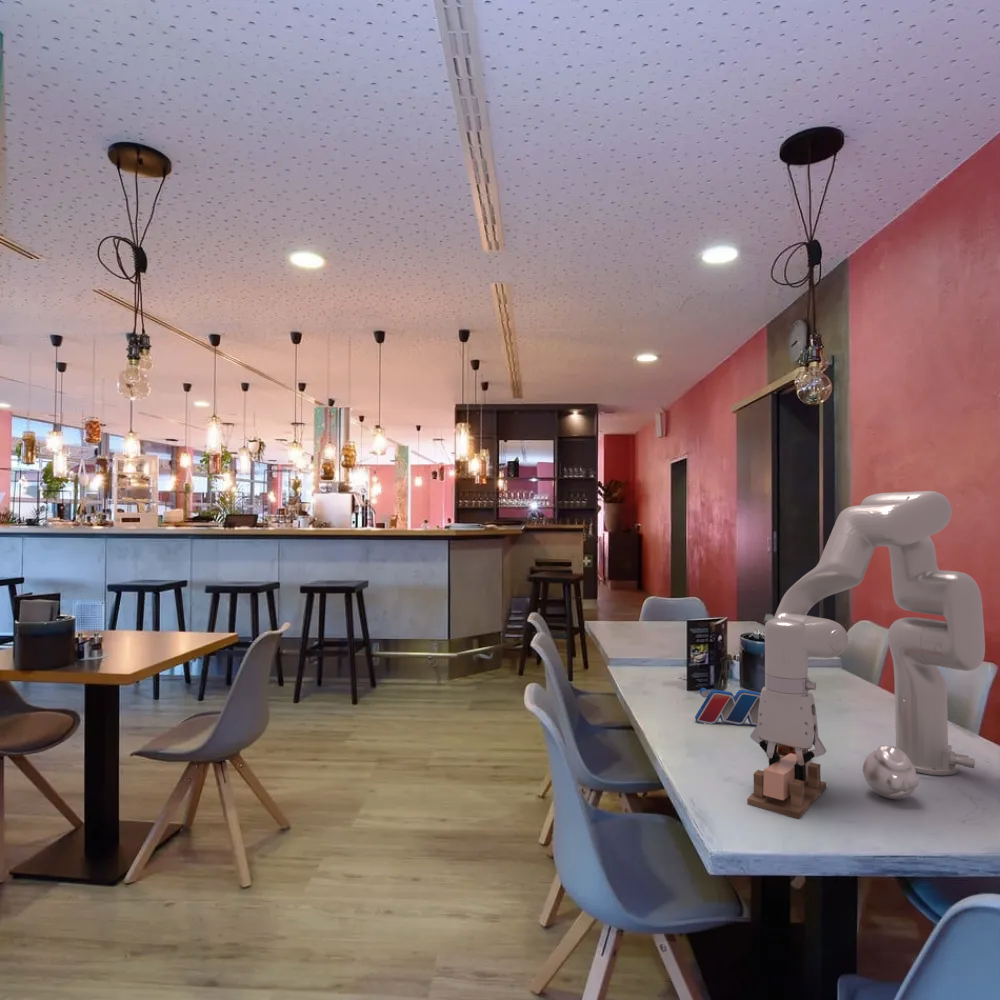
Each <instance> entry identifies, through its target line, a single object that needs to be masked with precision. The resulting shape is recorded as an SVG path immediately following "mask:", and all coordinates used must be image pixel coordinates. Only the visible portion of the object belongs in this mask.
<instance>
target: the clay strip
mask: <svg viewBox="0 0 1000 1000" xmlns="http://www.w3.org/2000/svg"><path fill="white" fill-rule="evenodd" d="M796 761H797V757H796V754H792V753H790V754H788V755H786V756H785V757H783V758H782V759H780V760H779V761H777V762H775V763H773V764H772V765H770V766H769V765H768V766H767V767H765V768H763V771H764V780H763V795H765V796H769V797H772V798H776V799H780V800H785V799H786V798H787V797H789V796H790V795H791V782H792V781H793V780H794V779H795V767H794V765H795V764H796ZM809 764H810V760H809V761H808V762H807V763H806V780H805V782H804V784H805V783H806V782H808V765H809Z"/></svg>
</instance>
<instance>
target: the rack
mask: <svg viewBox="0 0 1000 1000" xmlns="http://www.w3.org/2000/svg"><path fill="white" fill-rule="evenodd" d="M779 757H780V759H782V758H783V757H785V756H782V755H779ZM763 780H764V770H761V769H756V771H754V772H753V792H752V794H750V796H748V797H747V799H746V802H747V805H750V806H753V805H754V806H753V807H756V806H757V808H761V809H763V810H767V811H769V812H770V811H771V812H773V813H777V814H780V815H785V816H788V817H791V818H794V817H795V819H798V820H800V818H801V817H803V815H804V814H805V813H806V812H807V811H808V809H809V808H810V807H811V806H812V805H813V803H814V802H815V801H816V800H817V799H818V797H820V795H821V794H822V793H823V792H824V791H825V789H826V788H827V782H826V781H822V780H821V764H819V763H816V762H812V761H811V762H809V765H808V782H806V783H805V784H804V781H801V780H797V779H794V780H793V781H792V782H791V795H790V796H789V797H787V798H786V799H785V800H780V799H776V798H772V797H769V796H765V795H763ZM825 787H826V788H825ZM824 788H825V789H824ZM822 791H823V792H822ZM821 792H822V793H821ZM820 793H821V794H820ZM819 794H820V795H819ZM816 798H817V799H816ZM815 799H816V800H815ZM814 800H815V801H814ZM810 805H811V806H810ZM804 812H805V813H804Z"/></svg>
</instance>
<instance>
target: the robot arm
mask: <svg viewBox="0 0 1000 1000" xmlns="http://www.w3.org/2000/svg"><path fill="white" fill-rule="evenodd" d="M952 510H953V509H952V505H951V503H950V501H949V499H948V498H947V497H946V496H945V495H944V494H942V492H941V493H940V492H938V491H934V490H921V491H919V490H917V491H895V492H881V493H874V494H871V495H869V496H866V497H865V498H863V500H862V501H861V503H860V505H853V506H849V507H846V508H845V509H843V510H841V511H840V513H839V514H838V516H837V518H836V520H835V523H834V525H833V528H832V530H831V533H830V534H829V537H828V540H827V541H826V544H825V547H824V549H823V551H822V554H821V556H820V559H819V561H818V563H817V564H816V566H815V567H814V568H813V569H811V570H810V571H808V572H806V574H804V575H803V576H802V577H801V578H800V579H798V580H797V581H796V582H795V583H793V585H791V586H790V588H788V589H787V590H786V592H785V593H784V595H783V596H782V598H781V600H780V602H779V605H778V607H777V609H776V612H775V614H774V617H773V618H771V619H769V620H768V621H767V620H766V622H765V625H764V684H765V685H764V686H763V687H762V689H761V692H760V694H761V696H760V702H759V709H758V723H757V726H755V727H754V729H753V730H752V732H751V734H750V735H749V736H750V737H749V738H750V739H751V740H752V741H754V742H755V743H756V744H758V745H759V746H760V748H761V749H762V750H763V752H764V753H765V755H766V757H767V758H768V767H769V766H770V765H772V764H773V763H775V762H777V761H779V760H780V757H779V755H778V753H777V751H778V744H781V745H785V746H790V747H794V748H795V751H796V757H797V761H796V764H795V765H794V767H795V779H797V780H801V781H804V782H805V780H806V763H807V762H808V761H809V762H810V761H811V760H812V759H814V758H817V757H820V756H823V755H825V754H826V753H827V749H826V747H825V745H824V744H823V742H822V740H821V739H820V737H819V725H818V716H817V709H816V703H815V699H814V697H815V696H814V694H813V693H812V692H809V691H812V690H814V691H816V689H817V683H816V682H812V681H810V677H809V676H808V674H809V670H808V667H809V666H808V663H809V661H808V658H811V657H812V658H822V659H831V658H835V657H838V656H840V655H841V654H842V653H843V652H844V651H846V649H847V647H848V643H849V636H848V632H847V631H846V629H845V628H844V627H843V625H841V624H840V623H838V622H837V621H835V620H831V619H829V618H824V617H823V618H822V617H817V616H812V615H808V613H809V611H810V610H811V609H812V608H813V607H814V606H815V605H816V604H817V603H818V602H820V601H821V600H824V599H826V598H827V597H829V596H833V595H836V594H838V593H841V592H844V591H847V590H849V589H853V588H855V587H857V586H859V585H860V584H862V583H863V580H864V578H865V575H866V572H867V569H868V567H869V565H870V561H871V559H872V557H873V554H874V551H875V550H876V548H877V547H887V548H888V552H889V558H890V571H891V585H892V596H893V599H894V603H895V604H896V605H897V607H898V608H900V609H902V610H904V611H908V612H911V613H913V612H914V613H919V614H926V615H927V614H928V615H935V616H943V617H944V618H945V619H944V620H945V621H944V620H943V621H942V620H938V619H932V618H931V619H930V618H923V617H914V616H913V617H912V616H911V617H909V616H908V617H901V618H899V619H896V620H895V621H893V622H892V623H891V625H890V627H889V629H888V633H887V640H888V641H887V642H888V645H889V650H890V654H891V658H892V667H893V676H894V681H893V682H894V716H895V717H894V719H895V721H894V723H895V747H897V748H899V749H900V750H902V751H903V752H904V753H905V754H906V755H907V756H908V758H909V759H910V761H911V763H912V765H913V766H914V768H915V771H916V773H920V774H925V775H933V776H951V775H954V774H957V773H958V772H959V771H958V770H959V767H958V766H962V767H965V768H971V769H975V768H976V767H975V766H976V761H975V760H976V759H975V758H972V757H969V755H968V754H967V755H966V754H963V753H961V754H960V753H956V752H955V751H953V749H952V745H950V744H949V730H948V729H949V726H948V725H949V724H948V723H949V722H948V687H947V683H946V680H945V677H944V675H943V673H942V672H941V670H940V668H939V667H942V668H947V669H950V670H951V669H953V670H957V671H963V672H964V671H965V672H970V671H974V670H977V669H979V667H980V666H981V665H982V664H983V662H984V659H985V654H986V641H985V639H986V637H985V624H984V612H983V611H984V609H983V601H982V593H981V589H980V588H979V585H978V582H976V580H975V579H974V578H973V577H972V576H971V575H970V574H968V573H966V572H962V571H961V572H960V571H955V570H944V569H943V570H942V569H940V568H939V566H938V563H937V562H938V561H937V554H936V546H935V543H934V542H933V540H932V538H931V536H933V535H935V534H937V533H939V532H941V531H942V530H944V529H945V528H946V527H947V525H948V524H949V523H950V520H951V518H952V513H953V511H952ZM813 747H814V748H813ZM812 748H813V749H812ZM807 749H808V752H807Z"/></svg>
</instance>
